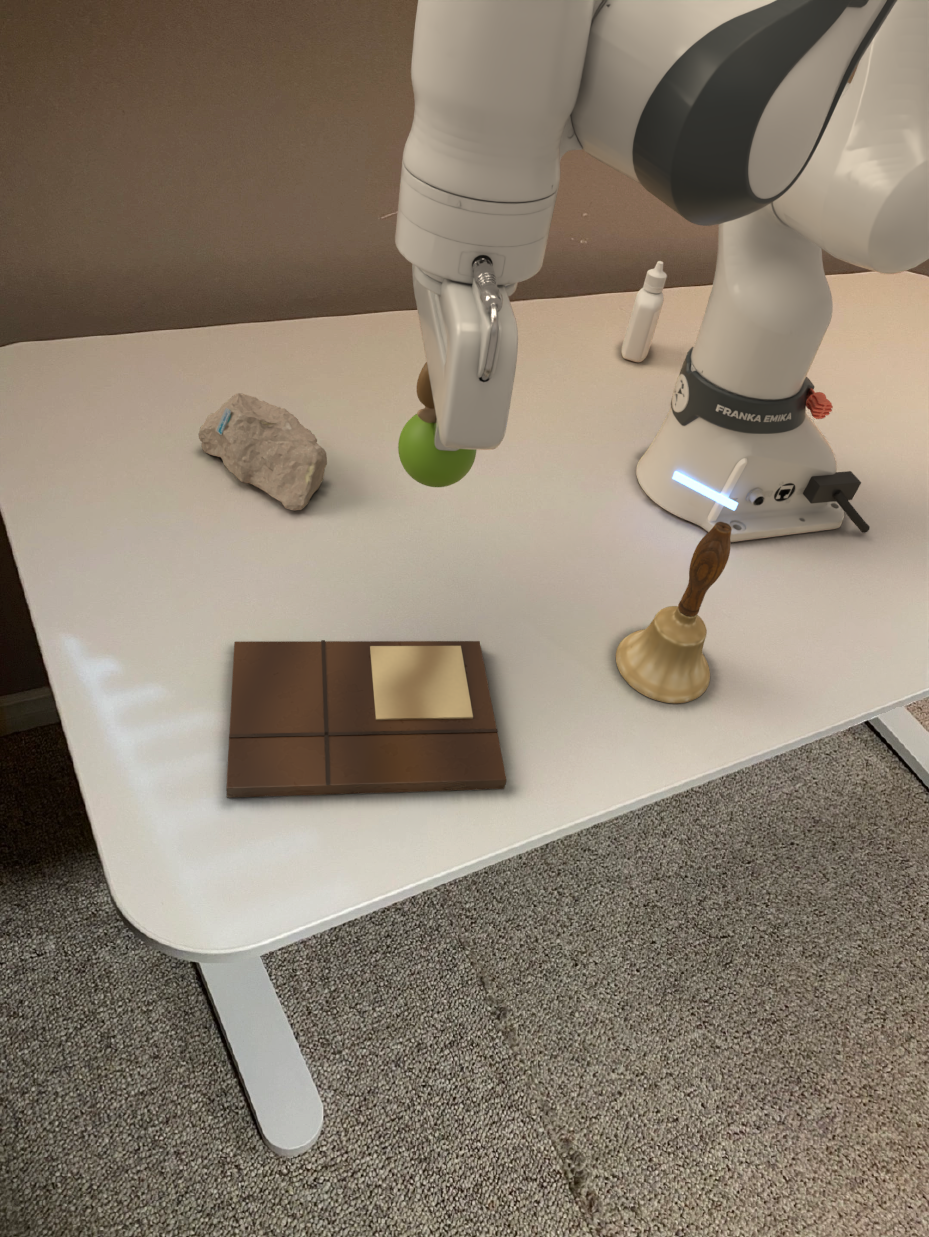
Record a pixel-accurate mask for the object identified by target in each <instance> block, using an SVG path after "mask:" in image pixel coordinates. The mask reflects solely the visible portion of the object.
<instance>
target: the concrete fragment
mask: <svg viewBox="0 0 929 1237" xmlns="http://www.w3.org/2000/svg"><path fill="white" fill-rule="evenodd" d="M198 439H199V441H200V442H201V448H202V451H203V452H204V453H206V454H208V455H210V456H214V457H217V458H221V460H222V464H223V465H224V467H225V468H226V469H227V470H228V472H230V473H232V474H233V475H234V476H235V477H236V478H237V480H238V481H239V482H241V483H245V484H249V485H253V486H254V487H256V488H257V489H258V488H259V489H260V490H262V491H263V492H264V493H265V494H267V495H269V496H270V497H271V498H274V499H275V500H277V501H278V502H280V503H281V504H282V506H283V507H284V509H287V510H291V511H294V512H295V511H302V510H303V509H304V508H305V507H306V506H307V505H308V504H309V503H310V499H311V498H312V496H313V495H314V493H315V492H316V491H318V490H319V488H320V486H321V484H322V482H323V481H324V479H325V478H324V477H325V472H326V470H325V469H326V467H327V465H328V456H327V452H326V450H325V449H324V448H323V447H322V446H321V445H320V444H319V443H318V439H317V437H316V434H314V433H313V432H312V431H311V430H310V429H309V428H306V427H305V426H304V425H303V424H301V422H300V421H299V419H298V418H297V417H296V416H295V415H294V414H293V413H291V412H289V410H287V409H286V408H282V407H280V406H276V405H274V404H272V403H269V402H266V401H265V400H260V399H258V398H257V397H256V396H251V395H249V394H245V393H243V392H240V393H235V394H233V395H232V396H231V397H230V398H229V399H228V400H227V401H225V402H224V403H223V404H221V406H220V407H219V408H218V409H217V410H216V411H215V412H211V413H210V414H209V415H208V416H207V417H206V418H205V421H204V423H203V424H202V425H201V426H200V428H199V431H198Z"/></svg>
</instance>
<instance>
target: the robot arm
mask: <svg viewBox="0 0 929 1237" xmlns="http://www.w3.org/2000/svg"><path fill="white" fill-rule="evenodd" d="M414 23H415V24H414V31H413V41H412V50H411V52H412V53H411V63H410V64H411V65H410V79H411V87H412V91H413V99H414V112H413V119H412V123H411V128H410V131H409V134H408V136H407V139H406V141H405V144H404V146H403V151H402V159H401V171H400V181H399V191H398V192H399V194H398V204H397V214H396V226H395V235H394V243H395V246H396V248H397V251H398V252H399V253H400V255H401V256H402V257H403V258H404V259H405V261H408V263H410V264H412V265H411V266H412V267H411V268H412V269H411V270H412V283H413V284H412V286H413V292H414V293H413V295H414V299H415V304H416V305H415V306H416V310H417V311H416V312H417V317H418V322H419V327H420V332H421V339H422V345H423V350H424V355H425V362H427V365H428V373H429V378H430V384H431V390H432V395H433V401H434V407H435V412H436V415H435V422H434V429H433V436H434V443H435V447H436V448H437V449H438V450H446V451H457V450H459V449H471V450H476V451H491V450H496V449H497V448H499V446H500V445H501V444H502V442H503V441H504V440H505V435H506V432H507V426H508V420H509V415H510V409H511V402H512V395H513V390H514V382H515V375H516V370H517V360H518V350H519V328H518V324H517V318H516V316H515V313H514V310H513V307H512V304H511V300H510V297H511V296H512V295H513V294H515V292H516V290H517V287H518V283H521V282H523V281H527V280H529V279H531V278H533V277H535V276H536V275H537V274H538V273H539V272H540V271H541V269H542V267H543V264H544V260H545V256H546V250H547V246H548V245H547V244H548V241H549V236H550V231H551V227H552V222H553V216H554V212H555V208H556V202H557V197H558V194H559V188H560V183H561V175H562V173H561V160H562V158H563V156H564V155H565V154H566V153H568V152H570V151H582V150H583V151H584V152H585V153H586V154H587V155H589V156H590V157H591V158H593V159H595V160H596V161H599V162H600V163H602V164H604V165H606V166H607V167H609V168H610V169H613V170H615V171H616V172H618V173H620V174H622V175H623V176H625V177H627V178H629V179H631V180H632V181H634V182H636V183H637V184H640V185H641V186H642V187H643V188H644V189H645V190H646V191H647V192H649V194H651V195H653V197H655V198H657V199H658V200H659V201H660V202H662V203H663V204H664V205H666V206H667V207H669V208H670V209H671V210H672V211H674V212H675V213H676V214H678V215H679V216H681V217H682V218H684V220H686V221H687V222H690V223H691V224H694V225H697V226H702V227H710V226H711V227H712V226H717V225H718V229H717V230H718V232H717V234H718V235H717V254H716V263H715V270H714V277H713V281H712V285H711V290H710V294H709V296H708V300H707V304H706V307H705V310H704V313H703V317H702V320H701V322H700V325H699V329H698V332H697V336H696V338H695V341H694V344H693V346H692V347H691V348H690V349H689V350H688V352H687V353H686V355H685V358H684V360H683V363H682V366H681V369H680V371H679V374H678V377H677V379H676V381H675V384H674V388H673V391H672V396H671V400H670V408H669V409H668V412H667V414H666V416H665V418H664V420H663V422H662V424H661V426H660V428H659V430H658V431H657V434H656V435H655V437H654V439H653V440H652V441H651V444H650V445H649V446H648V448H647V449H646V450H645V452H644V453H643V455H642V456H641V457H640V458H639V460H638V462H637V463H636V467H635V468H636V469H635V474H636V478H637V481H638V484H639V485H640V488H641V489H642V490H643V492H644V493H645V494H646V495H647V496H648V497H649V498H650V499H651V501H652V502H654V503H655V504H656V505H658V506H659V507H660V508H663V509H664V510H665V511H667V512H668V513H671V514H672V515H674V516H675V517H678V518H680V519H681V520H684V521H686V522H687V521H688V522H689V523H693V524H694V525H696V526H698V527H700V528H703V530H704V531H706V532H707V533H708V532H709V531H710V530H711V529H712V528H713V527H714V525H715V524H716V523H717V522H724V523H727V524H729V525H730V526H731V528H732V531H731V537H730V543H734V542H735V543H736V542H744V541H751V540H760V539H767V538H774V537H775V538H776V537H781V536H782V537H783V536H790V535H791V536H792V535H797V534H798V535H799V534H806V533H814V532H821V531H822V532H823V531H830V530H835V529H836V530H837V529H839V528H841V526H842V523H843V520H844V517H845V514H846V515H847V517H848V518H849V519H850V521H851V522H852V523H853V524H854V525H855V527H857V529H858V530H859V531H860V532H861V533H863V534H866V533H868V532H869V531H870V526H869V524H868V523H867V522H866V520H865V519H863V517H862V516H861V514H860V513H859V512H858V511H857V510H856V509H855V507H854V506H853V504H852V503H851V502H850V501H853V499H854V497H855V496H856V494H857V492H858V490H859V488H860V487H861V484H862V481H861V480H860V479H859V478H858V477H857V475H855V474H854V473H853V471H851V470H847V471H838V465H837V464H838V463H837V459H836V455H835V453H834V450H833V448H832V446H831V445H830V443H829V441H828V439H827V438H826V437H825V436H824V434H823V433H822V431H821V430H820V429H819V427H818V426H817V425H816V423H815V422H814V421H813V419H811V417H810V416H809V415H808V414H807V409H808V410H809V411H810V414H811V416H812V417H813V418H814V419H816V420H822V419H825V418H826V416H829V415H830V414H831V413H832V412H833V409H834V406H833V403H832V402H831V401H830V400H829V399H828V398H827V396H826V394H825V393H824V392H822V391H821V392H820V391H815V385H814V384H813V382H812V380H811V379H810V378H809V377H808V374H809V371H810V369H811V367H812V365H813V363H814V360H815V358H816V355H817V353H818V351H819V349H820V346H821V344H822V342H823V340H824V337H825V335H826V333H827V331H828V328H829V326H830V324H831V322H832V318H833V310H834V301H833V295H832V291H831V287H830V284H829V281H828V279H827V276H826V273H825V269H824V263H823V251H824V252H826V253H827V254H829V255H830V256H832V257H833V258H835V259H837V260H840V261H842V262H845V263H847V264H850V265H853V266H856V267H859V268H862V269H866V270H869V271H872V272H876V273H878V274H883V275H888V276H889V275H897V274H902V273H904V272H906V271H909V270H911V269H914V268H916V267H918V266H920V265H921V264H923V263H925V262H926V261H928V260H929V0H417V6H416V14H415V22H414ZM854 71H855V72H854ZM853 73H854V74H853ZM852 75H853V77H852V79H851V81H850V78H851V76H852ZM849 81H850V82H849Z"/></svg>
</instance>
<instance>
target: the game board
mask: <svg viewBox="0 0 929 1237" xmlns="http://www.w3.org/2000/svg"><path fill="white" fill-rule="evenodd" d="M232 660H233V661H232V662H233V663H232V679H231V680H232V681H231V698H230V699H231V700H230V713H229V714H230V715H229V732H228V749H227V767H226V768H227V770H226V787H225V789H226V790H225V791H226V798H228V799H231V798H236V799H237V798H264V797H299V796H323V795H324V796H327V795H353V794H354V795H355V794H357V795H358V794H385V793H387V794H388V793H389V794H390V793H417V792H419V793H420V792H447V791H450V792H451V791H476V790H477V791H478V790H479V791H481V790H504V789H505V787H506V783H507V775H506V769H505V764H504V760H503V754H502V749H501V744H500V738H499V730H498V727H497V723H496V718H495V712H494V708H493V702H492V697H491V692H490V686H489V682H488V677H487V670H486V667H485V666H486V665H485V661H484V656H483V651H482V645H481V641H480V640H438V641H437V640H411V641H410V640H391V641H390V640H384V641H383V640H379V641H378V640H370V641H369V640H367V641H365V640H364V641H363V640H359V641H358V640H350V641H349V640H346V641H345V640H343V641H341V640H338V641H337V640H334V641H333V640H330V641H329V640H327V641H326V640H325V639H321V641H317V640H314V641H313V640H312V641H311V640H309V641H306V640H305V641H303V640H302V641H300V640H298V641H296V640H295V641H293V640H292V641H290V640H289V641H284V640H283V641H280V640H279V641H278V640H277V641H276V640H275V641H271V640H270V641H269V640H268V641H267V640H266V641H265V640H264V641H259V640H258V641H257V640H256V641H252V640H251V641H234V644H233V659H232Z"/></svg>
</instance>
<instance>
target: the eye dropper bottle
mask: <svg viewBox="0 0 929 1237" xmlns="http://www.w3.org/2000/svg"><path fill="white" fill-rule="evenodd" d="M667 278H668V274H667V273H666V272H665V271H664V262H663V261H661V260H658V261H657V262H656V264H655V266H654V268H650V269H648V270H647V272H646V275H645V278H644V282H643V285H642V287H641V288H640V289H639V290H638V291H637V293H636V295H635V298H634V302H633V306H632V309H631V312H630V316H629V320H628V324H627V327H626V330H625V333H624V337H623V342H622V344H621V349H620V352H621V356H622V358H623V359H624V360H627V361H631V362H634V363H641V362H643V361H644V360H645V359H646V358H647V357H648V355H649V351H650V348H651V344H652V341H653V339H654V335H655V332H656V329H657V325H658V321H659V319H660V315H661V312H662V309H663V306H664V301H665V297H664V296H665V295H664V293H663V291H664V288H665V285H666V281H667Z"/></svg>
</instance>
